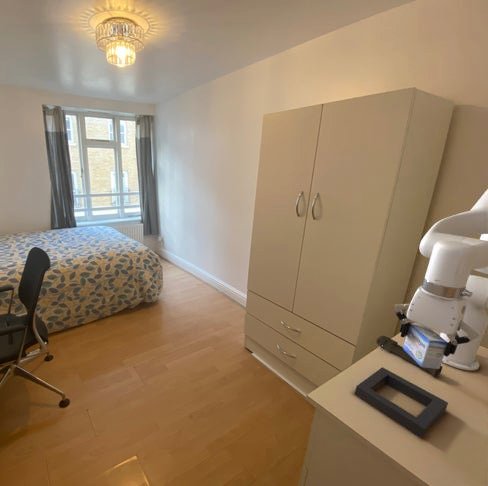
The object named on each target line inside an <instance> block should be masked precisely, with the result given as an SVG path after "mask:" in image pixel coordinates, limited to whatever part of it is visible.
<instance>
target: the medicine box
mask: <svg viewBox="0 0 488 486" xmlns="http://www.w3.org/2000/svg"><path fill="white" fill-rule="evenodd" d="M447 343H448V342H447V341H445V340H444V339H443V338H442V337H440V334H438V333H437V332H436V331H435V330H433V329H431V328H428V327H426V326H423V325H420V324H417V323H416V324H413V323H411V324H410V327H409V330H408V334H407V336H405V340H404V343H403V345H402V347H403V349H404V350H405V351H406V352H407V353H408V354H409V355H410V356H411V357H412V358H413V359H414V360H415V361H416V362H417V363H418V364H419V365H420V366H421V367H425V368H434V369H439V368H440V365H441V366H442V363H443V362H442V360H443V357H444V352H445V349H446V346H447Z"/></svg>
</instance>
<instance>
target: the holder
mask: <svg viewBox="0 0 488 486" xmlns="http://www.w3.org/2000/svg"><path fill="white" fill-rule="evenodd" d="M385 384H386V385H388V386H390V387H392V388H393V389H394V390H397V391H399V392H400V393H402V394H404V395H405V396H407V397H409V398H411V399H412V400H414V401H417V402H418V403H419V404H421V405H423V406H425V408H424V409H423V410H422V411H421V412H419V414H418V415H417V416H415V415H414V414H412V413H411V412H409V411H408V410H406V409H404V408H403V407H401V406H399V405H398V404H396V403H394V402H393V401H391V400H389V398H386V397H385V396H383V395H381V394H380V393H378V392H377V390H378V389H380V388H381V387H382V386H384V385H385ZM354 395H355V396H356V397H357V398H359V399H360V400H362V401H364V402H365V403H367V404H368V405H370V406H371V407H373V408H374V409H376V410H377V411H379V412H380V413H382V414H383V415H384V416H386V417H387V418H390V419H391V420H392V421H394V422H396V423H397V424H398V425H400V426H402V427H403V428H405V429H406V430H408V431H409V432H410V433H412V434H413V435H414V436H416V437H418V438H419V439H423V438H424V436H425V435H426V434H427V433H428V432H429V430H430V429H432V427H433V426H434V425H435V424H436V422H437V421H438V420H439V419H440V418H441V417H442V416H443V415H444V414H445V412H446V410H447V407H448V405H449V402H448V401H446V400H444V399H443V398H441V397H439V396H437V395H435V394H433V393H431V392H430V391H427V390H426V389H424V388H422V387H420V386H419V385H416V384H415V383H413V382H411V381H410V380H407V379H405V378H403V377H402V376H400V375H398V374H396V373H394V372H392V371H390V369H389V370H388V369H387V368H385V367H384V366H382V367H380V368H379V369H378V370H376V371H375V372H373V373H372V374H370V376H368V377H366V378H365V379H364V380H363V381H361V382H360V383H359V384H357V385H356V387H355V391H354Z"/></svg>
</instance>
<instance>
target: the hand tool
mask: <svg viewBox="0 0 488 486" xmlns="http://www.w3.org/2000/svg"><path fill="white" fill-rule="evenodd" d="M375 343H376V344H377V345H378V346H379V347H381V346H382V345H383V346H382V347H381V348H382V349H383V350H385V351H387V352H388V353H389V354H395V355H397V356H399V357H400V358H402V359H404V360H406V361H408V362H410V363H412V364H413V365H415V366H417V367H419V368H420V369H422V370H424V371H426V372H428V373H430V374H431V375H432V377H434V378H436V377H438V376H439V375H440V374H441V373H442V371H443V365H442V364H441V365H440V368H439V369H434V368H425V367H421V366H420V365H419V364H418V363H417V362H416V361H415V360H414V359H413V358H412V357H411V356H410V355H409V354H408V353H407V352H406V351H405V350H404V349H403V345H402V346H401V345H400V344H398V343H399V342H398V341H396V340H394V339H392V338H390V337H388V336H386V335H380V336H379V337H377V338H376V341H375Z"/></svg>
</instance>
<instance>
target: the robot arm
mask: <svg viewBox="0 0 488 486" xmlns="http://www.w3.org/2000/svg"><path fill="white" fill-rule="evenodd" d="M479 235H480V237H479V238H473V237H467V236H479ZM418 249H419V252H420V254H421V255H422V256H423V257H425V258H427V259H429V262H428V265H427V268H426V271H425V276H424V279H423V282H422V285H419V287H418V288H417V289H416V291H415V292H414V295H413V297H412V299H411V301H410V303H396V304H394V305H393V309H394V312H395V315H396V317H397V318H398V319H399V322H400V328H399V333H400V338H406V337H407V334H408V330H409V327H410V324H412V322H413V323H416V324H417V325H423V326H426V327H428V328H430V329H431V330H433V331H435V332H438V333H440V334H439V336H440V337H442V338H443V339H444V340H445V341H447V342H448V343H447V346H446V349H445V352H444V357H443V360H442V363H444V364H445V365H448V366H450V367H452V368H456V369H459V370H464V371H477V370H478V369H479V368H480V362H479V361H478V360H477V359H476V356H477V353H478V350H479V348H480V345H481V343H482V340H483V338H484V335H485V333H486V330H487V327H488V314H487V312H486V310H488V277H484V276H479V275H473V274H471V272H472V270H473V271H476V272H479V273H482V274H485V275H488V189H486V190H485V191H484V193H483V194H482V195H481V197H480V198H479V199H478V200H477V201H476V203H475V204H474V205H473V206H472V207H471V209H470V210H468V211H464V212H460V213H457V214H454V215H451V216H447V217H444V218H442V219H440V220H439V221H437V222H435V223H434V224H433V225H432V226H431V228H429V230H428V231H427V232H426V233H425V235H423V238H422V239H421V240H420V243H419V248H418ZM485 309H486V310H485ZM403 310H406V313H404V311H403Z"/></svg>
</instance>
